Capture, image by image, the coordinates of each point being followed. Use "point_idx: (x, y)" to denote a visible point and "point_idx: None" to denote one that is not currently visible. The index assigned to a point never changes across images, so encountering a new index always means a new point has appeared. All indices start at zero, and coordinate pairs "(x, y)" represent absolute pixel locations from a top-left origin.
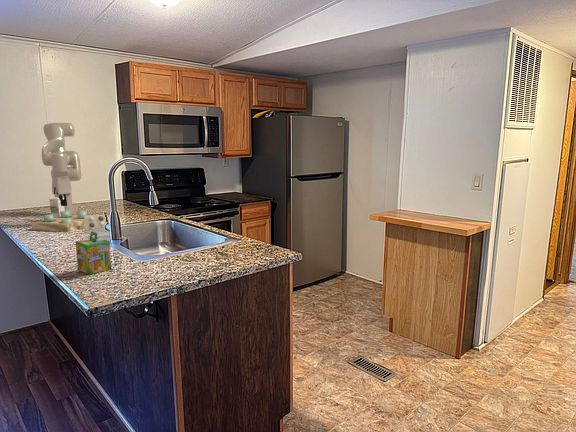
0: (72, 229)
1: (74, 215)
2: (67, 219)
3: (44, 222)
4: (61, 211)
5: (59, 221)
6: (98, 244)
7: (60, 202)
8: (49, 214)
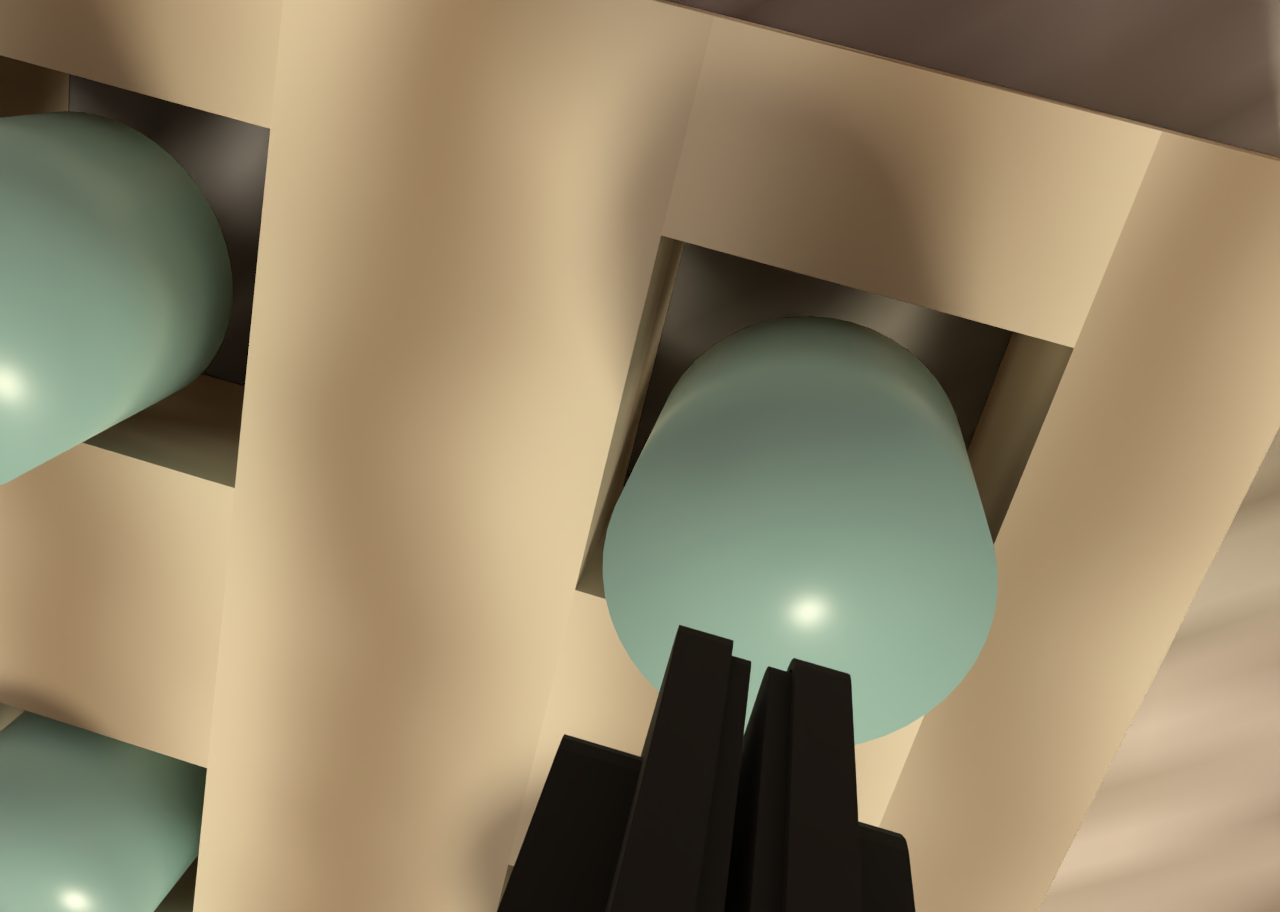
0: None
1: (1154, 653)
2: (62, 897)
3: None
4: (798, 433)
5: (96, 626)
6: None
7: (647, 748)
8: (34, 287)
